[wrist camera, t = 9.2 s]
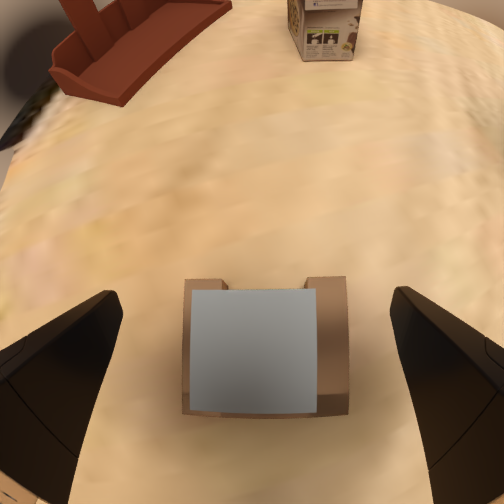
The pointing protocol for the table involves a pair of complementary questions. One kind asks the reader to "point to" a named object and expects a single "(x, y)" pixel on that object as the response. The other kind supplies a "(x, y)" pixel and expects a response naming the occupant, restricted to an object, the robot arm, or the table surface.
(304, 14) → the coffee box
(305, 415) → the slot block
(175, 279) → the table surface
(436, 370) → the robot arm
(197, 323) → the peg
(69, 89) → the hanging shelf
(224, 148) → the table surface
